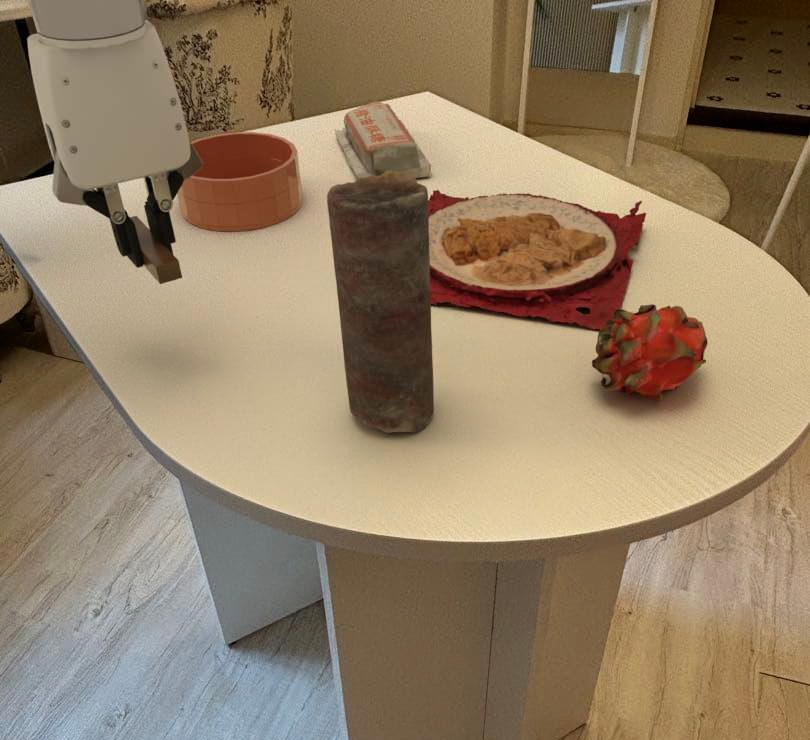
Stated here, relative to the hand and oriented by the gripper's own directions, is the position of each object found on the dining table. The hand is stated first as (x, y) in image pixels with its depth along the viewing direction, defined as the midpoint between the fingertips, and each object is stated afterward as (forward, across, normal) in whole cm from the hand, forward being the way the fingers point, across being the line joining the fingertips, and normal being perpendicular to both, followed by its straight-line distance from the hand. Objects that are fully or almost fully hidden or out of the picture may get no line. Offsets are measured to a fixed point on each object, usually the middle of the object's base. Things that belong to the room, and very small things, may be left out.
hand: (149, 255), depth 69 cm
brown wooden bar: (0, 0, 0) cm, 0 cm away
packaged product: (+10, -42, -30) cm, 53 cm away
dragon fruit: (+10, -34, +29) cm, 45 cm away
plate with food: (+10, -39, +4) cm, 40 cm away
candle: (+10, -12, +20) cm, 25 cm away
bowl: (+10, -20, -28) cm, 36 cm away
